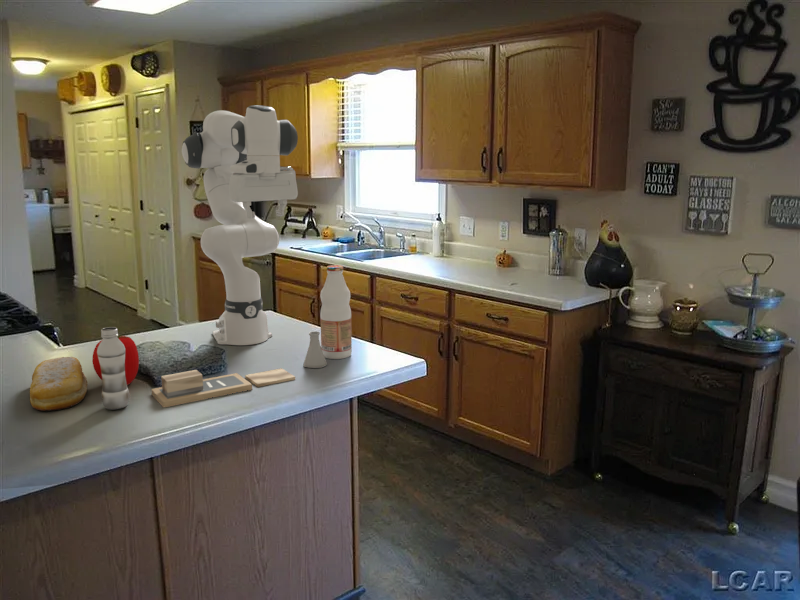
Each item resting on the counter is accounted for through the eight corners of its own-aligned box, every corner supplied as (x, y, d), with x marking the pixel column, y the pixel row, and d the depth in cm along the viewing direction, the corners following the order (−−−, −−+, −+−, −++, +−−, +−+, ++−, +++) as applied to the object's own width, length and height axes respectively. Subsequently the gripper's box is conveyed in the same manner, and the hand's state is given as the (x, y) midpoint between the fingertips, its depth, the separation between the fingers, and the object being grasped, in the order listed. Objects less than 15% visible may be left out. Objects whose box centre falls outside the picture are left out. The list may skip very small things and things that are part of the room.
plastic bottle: (102, 414, 158) (94, 333, 153) (102, 404, 164) (94, 327, 160) (131, 410, 160) (124, 331, 156) (130, 401, 166) (123, 324, 162)
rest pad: (245, 377, 184) (245, 375, 184) (281, 370, 190) (281, 368, 190) (257, 387, 177) (257, 384, 176) (295, 379, 183) (295, 376, 183)
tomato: (136, 391, 173) (132, 339, 170) (90, 394, 171) (84, 342, 168) (144, 376, 185) (140, 327, 182) (101, 378, 183) (96, 329, 180)
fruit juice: (320, 360, 200) (318, 269, 194) (321, 351, 209) (319, 264, 203) (352, 359, 201) (350, 268, 195) (351, 350, 210) (350, 263, 204)
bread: (85, 376, 186) (82, 349, 184) (92, 407, 163) (89, 376, 161) (30, 384, 179) (27, 356, 178) (30, 417, 157) (26, 385, 155)
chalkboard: (151, 394, 171) (151, 388, 171) (237, 378, 184) (236, 372, 183) (163, 407, 162) (163, 401, 162) (252, 389, 175) (251, 384, 174)
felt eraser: (162, 390, 169) (161, 376, 168) (197, 384, 174) (196, 369, 173) (167, 396, 165) (166, 381, 164) (203, 389, 170) (202, 374, 169)
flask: (323, 369, 191) (322, 336, 189) (299, 368, 193) (298, 335, 190) (330, 362, 198) (329, 330, 196) (307, 360, 200) (306, 328, 197)
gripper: (288, 166, 190) (290, 214, 193) (224, 166, 176) (227, 218, 179) (301, 166, 185) (303, 215, 188) (237, 167, 172) (239, 220, 174)
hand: (265, 217), depth 183 cm, fingers open, 8 cm apart
